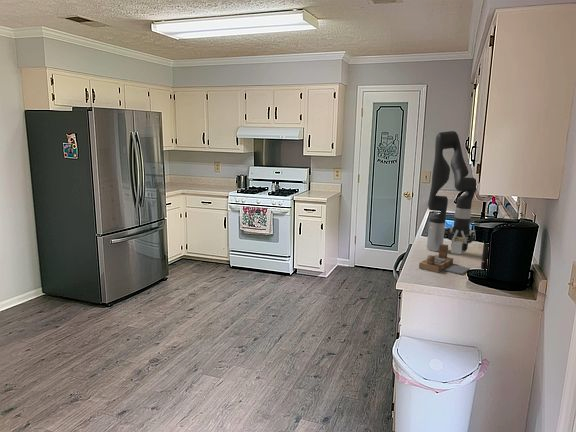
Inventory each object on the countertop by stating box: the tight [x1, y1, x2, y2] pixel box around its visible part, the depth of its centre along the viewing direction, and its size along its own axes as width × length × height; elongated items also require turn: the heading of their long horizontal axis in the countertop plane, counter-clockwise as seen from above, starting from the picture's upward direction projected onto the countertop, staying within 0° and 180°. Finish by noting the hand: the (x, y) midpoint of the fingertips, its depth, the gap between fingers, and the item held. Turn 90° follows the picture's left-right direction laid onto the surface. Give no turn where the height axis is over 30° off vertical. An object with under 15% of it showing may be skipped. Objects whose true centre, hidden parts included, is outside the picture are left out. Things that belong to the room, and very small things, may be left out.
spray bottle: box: [480, 242, 489, 271], centre depth 221 cm, size 10×10×25 cm
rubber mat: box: [443, 264, 471, 276], centre depth 222 cm, size 12×9×1 cm
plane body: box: [418, 243, 454, 273], centre depth 228 cm, size 22×10×10 cm, turn 140°
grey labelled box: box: [450, 236, 467, 255], centre depth 219 cm, size 8×5×7 cm, turn 140°
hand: (459, 249), depth 220 cm, fingers closed on grey labelled box, 5 cm apart
